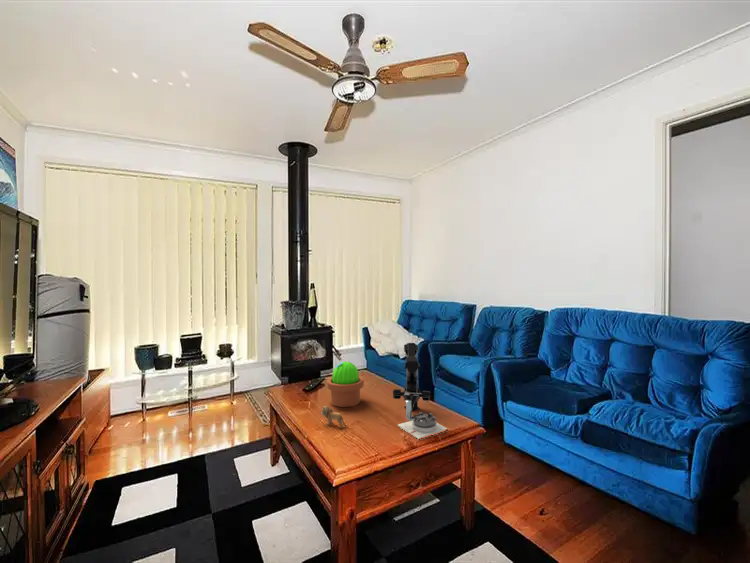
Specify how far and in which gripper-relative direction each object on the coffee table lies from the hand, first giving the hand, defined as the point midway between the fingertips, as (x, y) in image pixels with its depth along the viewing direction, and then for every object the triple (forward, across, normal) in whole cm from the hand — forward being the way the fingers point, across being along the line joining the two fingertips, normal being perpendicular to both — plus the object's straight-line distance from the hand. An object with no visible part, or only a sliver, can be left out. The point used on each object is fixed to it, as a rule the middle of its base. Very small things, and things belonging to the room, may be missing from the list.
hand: (411, 411), depth 174 cm
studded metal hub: (+4, -5, -5) cm, 8 cm away
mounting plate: (+5, -6, -8) cm, 11 cm away
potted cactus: (-16, +39, -32) cm, 53 cm away
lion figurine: (+6, +39, -9) cm, 41 cm away
